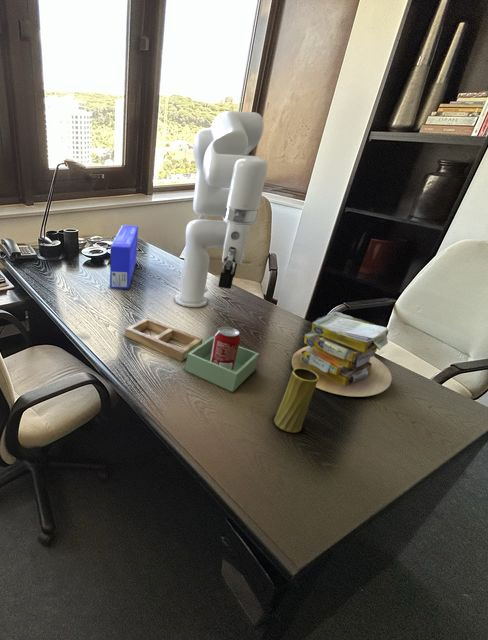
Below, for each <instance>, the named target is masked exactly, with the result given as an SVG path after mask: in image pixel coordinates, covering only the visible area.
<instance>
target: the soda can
mask: <svg viewBox="0 0 488 640" xmlns="http://www.w3.org/2000/svg"><path fill="white" fill-rule="evenodd" d="M240 342H241V337H240V331H239V330H238V329H236V328H235V327H231V326H221V327H219V328H218V329H217V332H215V334H214V342H213V347H212V351H211V356H210V362H213V363H215V364H217V365H220V366H222V367H225V368H227V369H229V370H233V367H234V363H235V359H236V355H237V351H238V347H239V346H240Z"/></svg>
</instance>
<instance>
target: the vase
mask: <svg viewBox="0 0 488 640" xmlns="http://www.w3.org/2000/svg"><path fill="white" fill-rule="evenodd" d="M318 379H319V377H318V375H317V374H316V373H315V372H314V371H312V370H309V369H306V368H295V369H293V370H292V371H291V374H290V377H289V380H288V383H287V386H286V389H285V392H284V394H283V396H282V400H281V402H280V404H279V406H278V409H277V411H276V414H275V416H274V418H273V423H274V424H275V426H276V427H278V429H280V430H282V431H284V432H287V433H291V434H294V433H295V434H296V433H299V432H300V431H301V430H302V429H303V423H304V422H305V418H306V416H307V412H308V409H309V406H310V403H311V400H312V397H313V394H314V392H315V389H316V388H317V387H316V384H317V382H318Z"/></svg>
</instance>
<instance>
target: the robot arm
mask: <svg viewBox="0 0 488 640" xmlns="http://www.w3.org/2000/svg"><path fill="white" fill-rule="evenodd" d="M264 127H265V126H264V119H263V117H262V115H261V114H260V113H259V112H254V111H240V110H239V111H238V110H226V111H223V112H221V113H219V114H218V115H216V116H215V118H214V119H213V120H212V123H211V127H206V128H202V129H199V130H198V131H197V132H196V134H195V136H194V140H193V158H194V164H195V169H196V170H195V171H196V175H195V176H196V177H195V185H194V192H193V200H192V201H193V202H192V208H193V212H194V213H195V214H196V215H198V216H205V217H221V218H222V220H218V219H216V220H215V219H203V218H202V219H193V220H190V221H189V222H188V224H187V225H186V227H185V250H184V259H183V265H182V266H183V267H182V274H181V280H180V288H179V293H177V294H176V295H174V296H175V297H174V301H175V303H177V304H179V305H180V306H183V307H187V308H202V307H204V306H206V305H207V302H208V299H207V298H206V297H205V294H206V293H207V292H208V291H209V290H208V288H207V287H206V285H207V280H208V273H209V269H210V263H211V259H210V255H209V253H208V252H207V250H206V248H212V249H213V248H214V249H217V248H218V249H223V250H222V258H221V262H222V263H223V265H222V270H221V271H220V276H219V281H218V285H217V286H218V288H222V289H228V290H230V289H231V288H232V285H233V281H234V277H235V276H236V271H237V267H238V266H241V265H242V263H243V260H244V256H245V252H246V248H247V243H248V238H249V234H250V228H251V226H252V225H255V224H256V221H257V216H258V212H259V208H260V203H261V200H262V195H263V194H262V193H263V190H264V186H265V181H266V177H267V173H268V169H269V165H268V162H267V161H266V160H264V159H262V158H261V157H259V156H257V155H250V153H251V152H252V151H253V150H254V149H255V147H256V146H257V145H258V144H259V143H260V141H261V140H262V136H263V135H264V134H263V133H264Z"/></svg>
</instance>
